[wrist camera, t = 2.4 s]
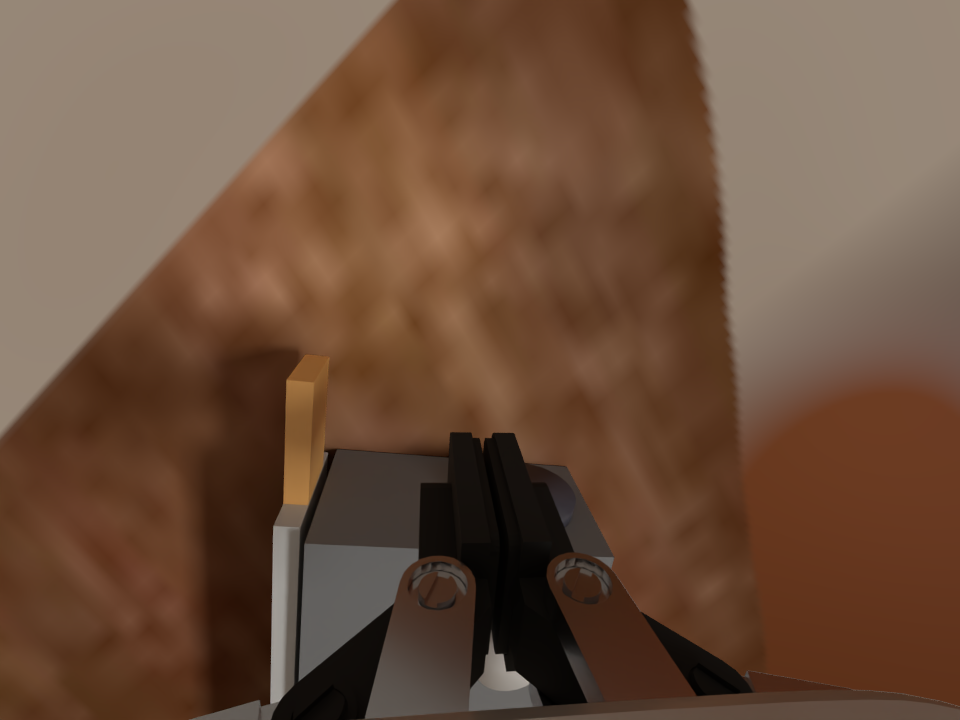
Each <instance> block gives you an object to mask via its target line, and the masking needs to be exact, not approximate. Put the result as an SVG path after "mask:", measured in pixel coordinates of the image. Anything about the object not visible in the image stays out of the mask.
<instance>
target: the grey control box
mask: <svg viewBox="0 0 960 720" xmlns="http://www.w3.org/2000/svg"><path fill="white" fill-rule="evenodd" d="M448 461H449V458H446V457H433V456H420V455H407V454H394V453H381V452H368V451H355V450H342V449H337V451H336V454H335V457H334V460H333V462H332V465H331V468H330V471H329V474H328V477H327V480H326V483H325V486H324V489H323V491H322V494H321V497H320V500H319V503H318V506H317V509H316V512H315V515H314V518H313V521H312V523H311V526H310V529H309V532H308V535H307V538H306V541H305V544H304V567H303V590H302V614H301V637H300V660H299V681H300V680H301V679H302V678H304V677H305V676H306V675H307V674H308V673H310V672H311V671H312V670H313V669H315V668H316V667H317V666H318V665H319V664H321V663H322V662H323V661H324V660H326V659H327V658H328V657H329V656H330V655H332V654H333V653H334V652H335V651H337V650H338V649H339V648H340V647H341V646H343V645H344V644H345V643H346V642H347V641H349V640H350V639H351V638H352V637H354V636H355V635H356V634H357V633H358V632H360V631H361V630H362V629H363V628H365V627H366V626H367V625H368V624H369V623H371V622H372V621H373V620H374V619H376V618H377V617H378V616H379V615H380V614H382V613H383V612H384V611H385V610H387V609H388V608H389V607H390V606H391V605H393V604H394V602H395V598H396V594H397V591H398V587H399V583H400V580H401V578H402V575H403V573H404V571H405V570H406V569H407V568H408V567H409V566H410V565H411V564H413V563H415V562H416V561H418V552H419V515H420V485H421V483H447V478H448ZM525 466H526V468H527V471H528V474H529V477H530V480H531V482H545V483H546V484H547V485H548V487H549V490H550V492H551V495H552V497H553V500H554V502H555V505H556V507H557V510H558V512H559V515H560V517H561V520H562V522H563V525H564V527H565V530H566V532H567V535H568V537H569V540H570V542H571V545H572V547H573V550H574V552H575V553H582V554H587V555H590V556H592V557H595V558H597V559H599V560H601V561H602V562H603V563H605V564H606V565H608V566H609V567H610V568H611V567H612V563H613V560H614V556H613V554H612V552H611V550H610V548H609V546H608V545H607V543H606V541H605V539H604V537H603V535H602V533H601V531H600V529H599V527H598V525H597V524H596V522H595V520H594V518H593V516H592V514H591V512H590V510H589V508H588V506H587V504H586V503H585V501H584V499H583V497H582V495H581V493H580V491H579V489H578V487H577V485H576V484H575V482H574V480H573V478H572V476H571V474H570V472H569V470H568V468H567V467H563V466H550V465H537V464H526V463H525ZM528 686H529V682H528V681H527V680H526V679H524V678H523V677H522V676H521V675H520V674H518V673H517V672H516V671H511V672H506V668H505V661H504V655H503V654H495V652H494V646H493V639H492V632H491V635H490V644H489V653H488V655H486V659H485V668H484V673H483V675H482V676H481V677H480V678H479V679H478V681H477V682H476V683H475V684H474V685H473V687H472V688H471V689H470V696H469V711H480V710H494V709H509V708H524V707H533V705H532V702H531V700H530V695H529V690H528Z"/></svg>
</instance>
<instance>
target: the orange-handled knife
mask: <svg viewBox="0 0 960 720" xmlns="http://www.w3.org/2000/svg"><path fill="white" fill-rule="evenodd" d="M328 368H329V357H327V356H317V355H308V354H305V356H304V357H303V358H302V360H301V361H300V362H299V364H298V365H297V366H296V368H295V369H294V371H293V372H292V373H291V375H290V376H289V377H288V379H287V380H286V419H285V460H284V501H283V506H282V508H281V510H280V512H279V515H278V517H277V519H276V521H275V523H274V526H273V575H272V637H271V699H270V704H272V703H276V702H279V701H280V700H281V699H282V697H283V696H284V695H285V694H286V693H287V692H288V691H289V690H290V689H291V688H292V687H293V686H294V685H295V684H296V683H297V682H299V660H300V637H301V614H302V590H303V567H304V544H305V541H306V538H307V535H308V532H309V529H310V526H311V523H312V521H313V518H314V515H315V512H316V509H317V506H318V503H319V500H320V497H321V494H322V491H323V489H324V486H325V483H326V480H327V464H328V452H324V440H325V422H326V404H327V386H328Z"/></svg>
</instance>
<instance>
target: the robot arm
mask: <svg viewBox="0 0 960 720" xmlns="http://www.w3.org/2000/svg"><path fill="white" fill-rule="evenodd" d="M491 632H492V639H493V646H494V652H495V654H503V655H504V661H505V668H506V672H511V671H516V672H517V673H518V674H520V675H521V676H522V677H523V678H524V679H526V680H527V681H528V682H529V686H528V690H529V695H530V700H531V702H532V705H533V707H524V708H509V709H494V710H480V711H469V696H470V689H471V688H472V687H473V685H474V684H475V683H476V682H477V681H478V679H479V678H480V677H481V676H482V675H483V673H484V668H485V659H486V655H488V653H489V644H490V635H491ZM191 720H960V707H959V706H956V705H952V704H949V703H946V702H942V701H937V700H932V699H927V698H922V697H916V696H912V695H906V694H902V693H891V692H879V691H869V690H852V689H849V688H844V687H838V686H832V685H827V684H821V683H816V682H810V681H804V680H799V679H793V678H787V677H781V676H775V675H770V674H765V673H759V672H753V671H748V670H747V672H746V674H745V677H743V676H741V675H740V674H739V673H738V672H737V671H736V670H734V669H733V668H732V667H730V666H729V665H728V664H726V663H725V662H724V661H722V660H720V659H719V658H717V657H715V656H714V655H712V654H710V653H709V652H707V651H705V650H704V649H702V648H700V647H699V646H697V645H695V644H694V643H692V642H690V641H689V640H687V639H685V638H684V637H682V636H680V635H679V634H677V633H675V632H674V631H672V630H670V629H669V628H667V627H665V626H664V625H662V624H660V623H659V622H657V621H655V620H654V619H652V618H650V617H649V616H647V615H645V614H644V613H642V612H640V610H639V609H638V607H637V606H636V604H635V603H634V601H633V600H632V598H631V597H630V595H629V594H628V592H627V591H626V589H625V588H624V586H623V585H622V583H621V582H620V580H619V579H618V577H617V576H616V574H615V573H614V572H613V571H612V570H611V568H610V567H609V566H608V565H606V564H605V563H603V562H602V561H601V560H599V559H597V558H595V557H592V556H590V555H587V554H582V553H575V552H574V550H573V547H572V545H571V542H570V540H569V537H568V535H567V532H566V530H565V527H564V525H563V522H562V520H561V517H560V515H559V512H558V510H557V507H556V505H555V502H554V500H553V497H552V495H551V492H550V490H549V487H548V485H547V484H546V483H545V482H531V480H530V477H529V474H528V471H527V468H526V466H525V463H524V460H523V457H522V454H521V451H520V448H519V446H518V443H517V440H516V437H515V434H514V433H493V434H492V438H485V441H484V450H483V453H482V448H481V444H480V439H479V438H472V434H471V433H458V432H451V433H450V443H449V461H448V478H447V483H421V485H420V515H419V552H418V561H416V562H415V563H413V564H411V565H410V566H409V567H408V568H407V569H406V570H405V571H404V573H403V575H402V578H401V580H400V583H399V587H398V591H397V594H396V598H395V602H394V604H393V605H391V606H390V607H389V608H388V609H387V610H385V611H384V612H383V613H382V614H380V615H379V616H378V617H377V618H376V619H374V620H373V621H372V622H371V623H369V624H368V625H367V626H366V627H365V628H363V629H362V630H361V631H360V632H358V633H357V634H356V635H355V636H354V637H352V638H351V639H350V640H349V641H347V642H346V643H345V644H344V645H343V646H341V647H340V648H339V649H338V650H337V651H335V652H334V653H333V654H332V655H330V656H329V657H328V658H327V659H326V660H324V661H323V662H322V663H321V664H319V665H318V666H317V667H316V668H315V669H313V670H312V671H311V672H310V673H308V674H307V675H306V676H305V677H304V678H302V679H301V680H300V681H299V682H297V683H296V684H295V685H294V686H293V687H292V688H291V689H290V690H289V691H288V692H287V693H286V694H285V695H284V696H283V697H282V699H281V700H280V701H279V702H276V703H272V704H269V705H265V706H262V707H261V705H260V700H257V701H254V702H250V703H247V704H243V705H240V706H236V707H233V708H229V709H226V710H222V711H219V712H215V713H212V714H208V715H205V716H201V717H198V718H194V719H191Z"/></svg>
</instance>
